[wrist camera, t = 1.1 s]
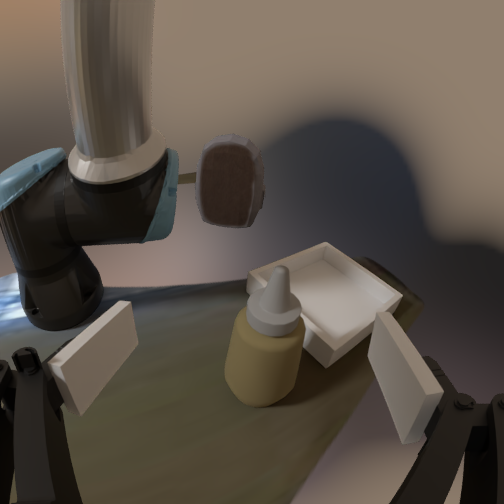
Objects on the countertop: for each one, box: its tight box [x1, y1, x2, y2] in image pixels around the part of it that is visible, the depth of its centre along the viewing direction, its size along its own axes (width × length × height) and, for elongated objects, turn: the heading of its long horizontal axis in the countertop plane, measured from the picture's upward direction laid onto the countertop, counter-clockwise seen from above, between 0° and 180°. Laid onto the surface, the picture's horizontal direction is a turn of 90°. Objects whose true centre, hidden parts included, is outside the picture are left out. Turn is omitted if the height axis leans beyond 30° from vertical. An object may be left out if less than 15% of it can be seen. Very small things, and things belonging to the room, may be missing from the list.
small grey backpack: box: [195, 134, 265, 228], centre depth 60 cm, size 15×8×20 cm, turn 82°
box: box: [246, 242, 403, 368], centre depth 45 cm, size 18×18×4 cm
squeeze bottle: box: [224, 265, 306, 408], centre depth 27 cm, size 8×8×18 cm
